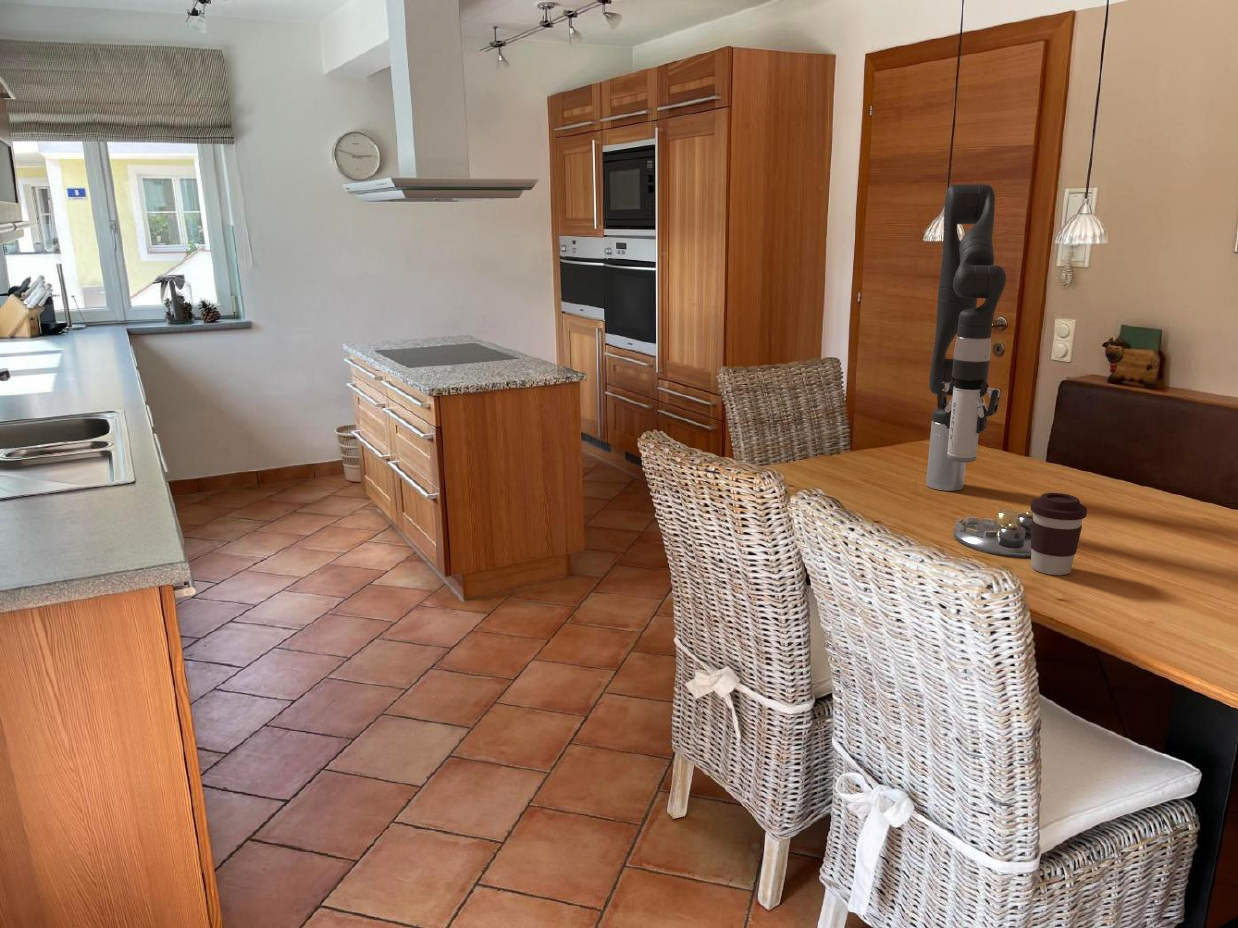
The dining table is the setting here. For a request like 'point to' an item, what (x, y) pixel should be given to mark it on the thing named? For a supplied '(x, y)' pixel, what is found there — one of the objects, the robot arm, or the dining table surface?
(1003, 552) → the carrier plate
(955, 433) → the travel mug
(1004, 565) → the dining table surface
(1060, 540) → the coffee cup
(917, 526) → the dining table surface
